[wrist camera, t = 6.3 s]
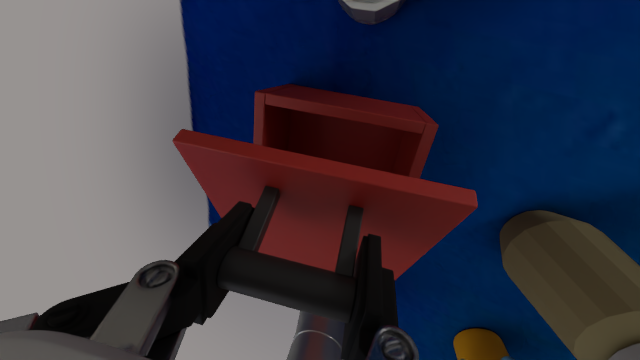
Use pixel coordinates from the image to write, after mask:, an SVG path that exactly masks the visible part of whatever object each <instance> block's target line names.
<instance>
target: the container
mask: <svg viewBox="0 0 640 360" xmlns="http://www.w3.org/2000/svg"><path fill="white" fill-rule="evenodd" d="M338 1H339V3H340V5H341V7H342V9H343V10H344V11H345V12H346V13H347V14H348V15H349V16H350V17H351V18H353V19H354V20H355V21H356V22H360V23H364V24H377V23H380V22H383V21H385V20H387V19H389V18H390V17H392V16H394V15H395V14H396V12H397V11H398V10H399V9H400V8H401V6H402V5H403V3H404V2H405V1H406V0H338Z"/></svg>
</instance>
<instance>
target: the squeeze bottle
mask: <svg viewBox="0 0 640 360" xmlns="http://www.w3.org/2000/svg"><path fill="white" fill-rule="evenodd" d="M500 247H501V254H502V262H503V268H504V269H505V271H506V272H507V274H508V275H509V277H510V278H511V280H512V281H513V282H514V283H515V284H516V286H517V287H518V288H519V289H520V291H521V292H522V293H523V294H524V295H525V297H526V298H527V299H528V300H529V302H530V303H531V304H532V305H533V306H534V308H535V309H536V310H537V311H538V312H539V314H540V315H541V316H542V317H543V319H544V320H545V321H546V322H547V323H548V325H549V326H550V327H551V328H552V330H553V331H554V332H555V333H556V334H557V336H558V337H559V338H560V339H561V340H562V342H563V343H564V344H565V345H566V347H567V348H568V349H569V350H570V351H571V353H572V354H573V355H574V356H575V358H576V359H577V360H640V266H639V265H638V264H637V263H636V262H635V261H634V260H632V259H631V258H630V257H629V256H628V255H627V254H626V253H625V252H624V251H623V250H622V249H620V248H619V247H618V246H617V245H616V244H615V243H614V242H613V241H612V240H611V239H610V238H608V237H607V236H606V235H605V234H604V233H603V232H601V231H599V230H598V229H596V228H595V227H593V226H592V225H590V224H588V223H585V222H582V221H579V220H575V219H572V218H569V217H566V216H563V215H560V214H556V213H553V212H548V211H543V210H535V211H526V212H524V213H521V214H519V215H516V216H514V217H513V218H511V219H510V220H509V221H508V222H507V223H505V224H504V226H503V228H502V230H501V232H500Z"/></svg>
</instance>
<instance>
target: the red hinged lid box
mask: <svg viewBox="0 0 640 360" xmlns="http://www.w3.org/2000/svg"><path fill="white" fill-rule="evenodd" d="M437 129H438V124H437V123H436V122H435V121H433V120H432V119H431V118H430V117H429V116H428V115H427V114H426V113H425V112H424V111H422V110H421V109H420V108H419V107H416V106H410V105H405V104H399V103H394V102H388V101H382V100H377V99H371V98H366V97H360V96H354V95H349V94H343V93H338V92H332V91H326V90H321V89H315V88H310V87H304V86H299V85H293V84H286V85H282V86H277V87H272V88H268V89H263V90H259V91H255V111H254V144H256V145H261V146H266V147H271V148H275V149H280V150H285V151H290V152H294V153H299V154H304V155H309V156H313V157H318V158H323V159H328V160H332V161H337V162H342V163H347V164H351V165H356V166H361V167H366V168H370V169H375V170H380V171H385V172H389V173H394V174H399V175H404V176H408V177H413V178H418V179H419V178H420V175H421V173H422V170H423V167H424V164H425V162H426V159H427V156H428V153H429V151H430V148H431V145H432V142H433V140H434V137H435V134H436V131H437Z"/></svg>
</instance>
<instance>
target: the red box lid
mask: <svg viewBox="0 0 640 360" xmlns="http://www.w3.org/2000/svg"><path fill="white" fill-rule="evenodd" d="M173 143H174V144H175V146H176V148H177V149H178V151H179V152H180V154H181V155H182V157H183V158H184V160H185V162H186V163H187V165H188V166H189V168H190V169H191V171H192V173H193V174H194V176H195V177H196V179H197V180H198V182H199V183H200V185H201V186H202V188H203V190H204V191H205V193H206V194H207V196H208V198H209V199H210V201H211V202H212V204H213V205H214V207H215V208H216V210H217V212H218V213H219V215H220V216H221V218H223V217H224V216H225V215H226V214H227V213H228V212H229V211H230V210H231V209H232V208H233V207H234V206H235V205H236V204H237V203H238V202H239V201H243V202H246V203H250V204H252V207H254V208H255V209H254V211H253V214H252V216H251V218H250V220H249V222H248V225H247V227H246V229H245V231H244V234H243V236H242V238H241V240H240V242H239V245H238V247H237V246H234V247H232V248H230V249H229V250H228V252H227V253H226V255H225V256H224V258H223V260H222V262H221V265H220V268H219V271H218V275H217V284H218V286H219V287H220V288H222V289H226V290H230V291H233V292H237V293H240V294H244V295H247V296H251V297H254V298H258V299H261V300H265V301H268V302H272V303H275V304H279V305H283V306H286V307H290V308H293V309H297V310H300V311H304V312H307V313H311V314H314V315H318V316H321V317H325V318H328V319H332V320H336V321H339V322H343V323H346V324H347V323H349V322H350V319H351V316H352V312H353V308H354V303H355V297H356V289H357V279H356V278H355V277H353V273H354V267H355V262H356V258H357V255H358V252H359V248H360V245H361V241H362V238H363V236H368V234H373V235H377V236H381V251H382V267H383V268H387V269H390V270H393V272H394V280H396V279H397V278H398V277H399V276H400V275H401V274H402V273H404V272H405V271H406V270H407V269H408V268H409V267H410V266H412V265H413V264H414V263H415V262H416V261H417V260H418V259H419V258H421V257H422V256H423V255H424V254H425V253H426V252H427V251H429V250H430V249H431V248H432V247H433V246H434V245H435V244H437V243H438V242H439V241H440V240H441V239H442V238H443V237H444V236H446V235H447V234H448V233H449V232H450V231H451V230H452V229H454V228H455V227H456V226H457V225H458V224H459V223H460V222H462V221H463V220H464V219H465V218H466V217H467V216H468V215H469V214H471V213H472V212H473V211H474V210H475V209H476V208H477V207H478V204H477V197H476V192H475V191H474V190H470V189H465V188H461V187H456V186H451V185H446V184H442V183H437V182H432V181H427V180H423V179H418V178H413V177H408V176H404V175H399V174H394V173H389V172H385V171H380V170H375V169H370V168H366V167H361V166H356V165H351V164H347V163H342V162H337V161H332V160H328V159H323V158H318V157H313V156H309V155H304V154H299V153H294V152H290V151H285V150H280V149H275V148H271V147H266V146H261V145H256V144H251V143H247V142H242V141H237V140H232V139H228V138H223V137H218V136H213V135H209V134H204V133H199V132H194V131H189V130H185V129H182V130H180V132H179V133H178V134H177V135H176V136H175V138H174V139H173Z"/></svg>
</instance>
